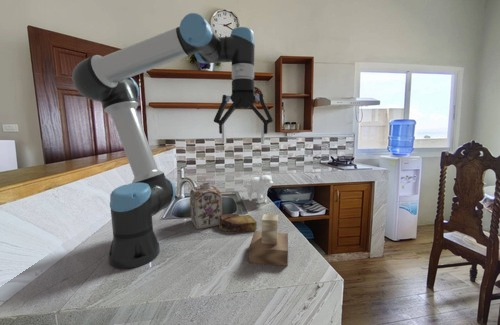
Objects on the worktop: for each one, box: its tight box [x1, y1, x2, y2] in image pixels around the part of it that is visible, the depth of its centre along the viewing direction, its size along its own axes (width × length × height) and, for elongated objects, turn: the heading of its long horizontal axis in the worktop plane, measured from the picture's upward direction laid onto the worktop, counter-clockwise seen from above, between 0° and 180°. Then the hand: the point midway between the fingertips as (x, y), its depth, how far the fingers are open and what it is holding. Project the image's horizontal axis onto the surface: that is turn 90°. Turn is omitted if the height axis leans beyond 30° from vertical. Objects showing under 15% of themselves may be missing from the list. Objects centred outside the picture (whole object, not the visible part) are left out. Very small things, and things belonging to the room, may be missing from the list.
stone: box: [218, 213, 257, 233], centre depth 98 cm, size 15×9×5 cm, turn 98°
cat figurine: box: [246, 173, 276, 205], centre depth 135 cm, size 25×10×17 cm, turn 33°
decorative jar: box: [189, 182, 223, 230], centre depth 103 cm, size 12×12×18 cm
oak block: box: [261, 213, 279, 244], centre depth 76 cm, size 5×5×8 cm
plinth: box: [248, 230, 289, 267], centre depth 77 cm, size 12×12×5 cm
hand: (243, 143), depth 80 cm, fingers open, 13 cm apart
